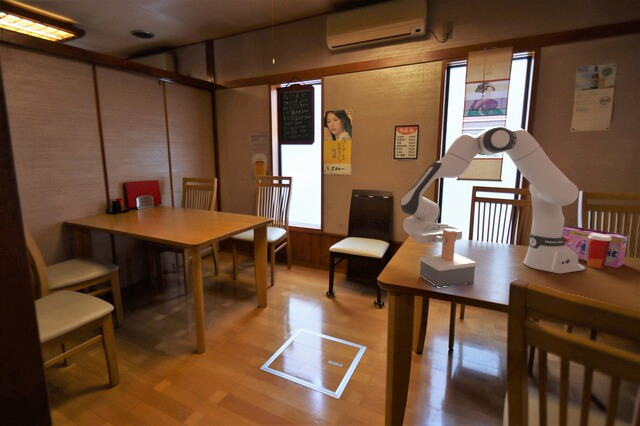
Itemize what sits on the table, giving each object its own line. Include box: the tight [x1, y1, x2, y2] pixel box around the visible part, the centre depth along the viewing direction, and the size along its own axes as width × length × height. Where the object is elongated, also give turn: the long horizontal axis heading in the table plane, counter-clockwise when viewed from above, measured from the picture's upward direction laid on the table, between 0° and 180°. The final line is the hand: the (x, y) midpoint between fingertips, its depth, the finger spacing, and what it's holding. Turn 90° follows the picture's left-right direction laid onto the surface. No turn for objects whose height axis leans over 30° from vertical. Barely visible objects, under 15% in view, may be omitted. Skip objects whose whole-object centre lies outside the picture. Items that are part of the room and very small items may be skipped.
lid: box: [419, 229, 477, 271], centre depth 123 cm, size 16×12×15 cm
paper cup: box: [586, 233, 612, 269], centre depth 136 cm, size 8×8×14 cm
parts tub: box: [419, 261, 476, 287], centre depth 125 cm, size 16×12×7 cm
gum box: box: [562, 225, 629, 268], centre depth 146 cm, size 24×8×14 cm, turn 31°
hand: (450, 240), depth 121 cm, fingers closed on lid, 2 cm apart
